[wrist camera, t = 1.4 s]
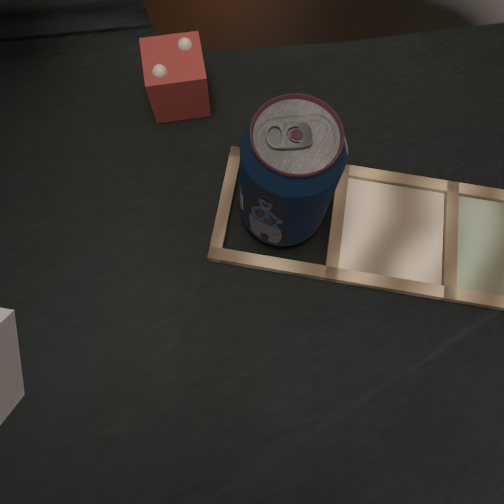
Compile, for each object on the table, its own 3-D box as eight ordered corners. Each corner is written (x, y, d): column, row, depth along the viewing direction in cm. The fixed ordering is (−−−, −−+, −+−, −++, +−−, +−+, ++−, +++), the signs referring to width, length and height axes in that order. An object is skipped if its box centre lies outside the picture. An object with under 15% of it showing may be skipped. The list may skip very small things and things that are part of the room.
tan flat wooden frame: (208, 260, 36) (207, 257, 36) (231, 150, 40) (231, 145, 39) (571, 322, 35) (578, 320, 35) (563, 204, 39) (570, 200, 38)
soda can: (316, 175, 39) (346, 82, 28) (325, 249, 37) (362, 181, 26) (238, 178, 39) (236, 86, 28) (242, 253, 37) (242, 187, 25)
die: (156, 123, 41) (143, 82, 35) (150, 79, 42) (137, 33, 37) (210, 115, 41) (206, 73, 36) (202, 72, 42) (197, 25, 37)
